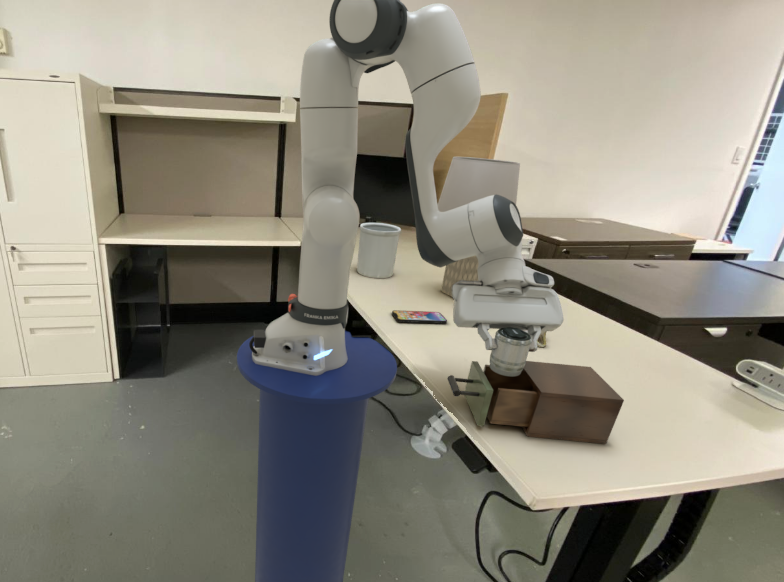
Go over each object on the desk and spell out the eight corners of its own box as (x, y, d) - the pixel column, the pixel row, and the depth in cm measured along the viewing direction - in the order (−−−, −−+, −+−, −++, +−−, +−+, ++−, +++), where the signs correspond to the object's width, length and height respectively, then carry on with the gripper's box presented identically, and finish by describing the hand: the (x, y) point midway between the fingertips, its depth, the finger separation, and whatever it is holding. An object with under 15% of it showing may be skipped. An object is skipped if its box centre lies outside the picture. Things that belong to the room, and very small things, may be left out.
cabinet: (526, 436, 86) (541, 392, 82) (506, 400, 98) (517, 359, 94) (606, 444, 86) (624, 400, 82) (576, 407, 98) (590, 366, 93)
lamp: (407, 284, 166) (428, 154, 148) (463, 281, 176) (489, 158, 158) (450, 310, 146) (481, 162, 127) (511, 304, 155) (548, 165, 137)
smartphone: (448, 321, 134) (398, 319, 132) (447, 324, 135) (397, 322, 132) (439, 311, 141) (391, 310, 139) (438, 314, 141) (391, 313, 139)
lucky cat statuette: (512, 343, 126) (517, 307, 127) (521, 349, 134) (526, 315, 135) (541, 345, 122) (546, 308, 123) (549, 351, 129) (554, 316, 130)
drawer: (451, 423, 87) (459, 387, 84) (440, 391, 97) (447, 358, 94) (550, 432, 86) (562, 397, 83) (528, 400, 97) (539, 367, 94)
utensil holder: (387, 281, 168) (394, 233, 161) (349, 273, 174) (354, 226, 166) (399, 272, 180) (406, 226, 173) (363, 265, 186) (368, 220, 178)
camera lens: (512, 361, 91) (522, 324, 88) (528, 377, 86) (540, 339, 82) (481, 361, 90) (491, 324, 87) (496, 377, 85) (507, 338, 81)
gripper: (456, 271, 86) (463, 341, 82) (561, 277, 88) (574, 346, 83) (445, 287, 92) (450, 353, 88) (543, 292, 94) (554, 357, 89)
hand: (512, 350), depth 86 cm, fingers closed on camera lens, 6 cm apart
